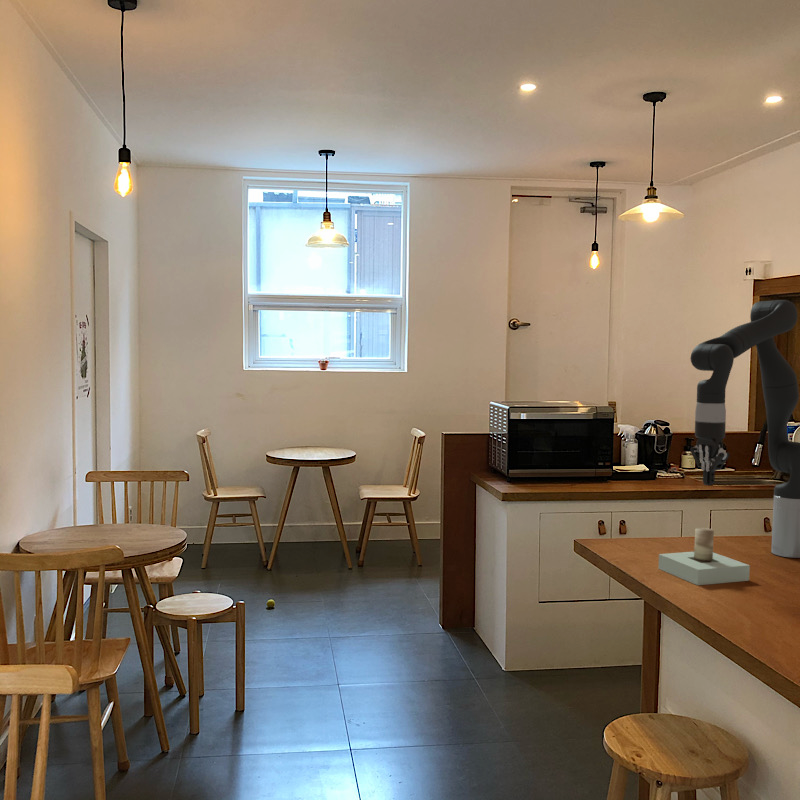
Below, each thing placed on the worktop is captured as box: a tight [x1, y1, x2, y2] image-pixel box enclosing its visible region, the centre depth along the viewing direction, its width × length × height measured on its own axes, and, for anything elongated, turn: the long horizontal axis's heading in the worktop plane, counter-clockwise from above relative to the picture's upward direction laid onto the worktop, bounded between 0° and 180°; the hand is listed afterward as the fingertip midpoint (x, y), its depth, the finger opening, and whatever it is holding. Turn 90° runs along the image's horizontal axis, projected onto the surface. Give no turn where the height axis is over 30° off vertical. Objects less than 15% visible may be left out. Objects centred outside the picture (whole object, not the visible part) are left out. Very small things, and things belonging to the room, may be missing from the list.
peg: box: [693, 527, 715, 563], centre depth 214 cm, size 5×5×12 cm
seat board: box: [657, 551, 751, 586], centre depth 214 cm, size 16×16×4 cm
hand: (708, 484), depth 215 cm, fingers closed
